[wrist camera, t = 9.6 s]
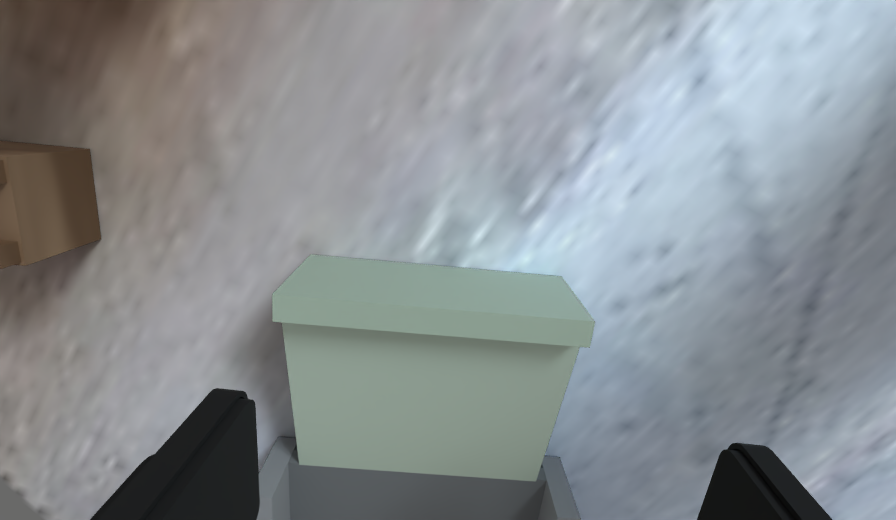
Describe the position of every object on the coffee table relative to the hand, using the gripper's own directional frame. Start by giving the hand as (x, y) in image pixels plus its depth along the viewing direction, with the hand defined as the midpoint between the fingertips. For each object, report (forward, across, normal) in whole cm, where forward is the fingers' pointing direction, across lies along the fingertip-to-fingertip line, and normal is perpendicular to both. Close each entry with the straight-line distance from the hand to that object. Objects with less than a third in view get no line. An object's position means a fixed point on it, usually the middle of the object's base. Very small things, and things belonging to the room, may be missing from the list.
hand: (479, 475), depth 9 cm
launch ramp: (+8, +2, +3) cm, 8 cm away
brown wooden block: (+7, +14, -3) cm, 17 cm away
